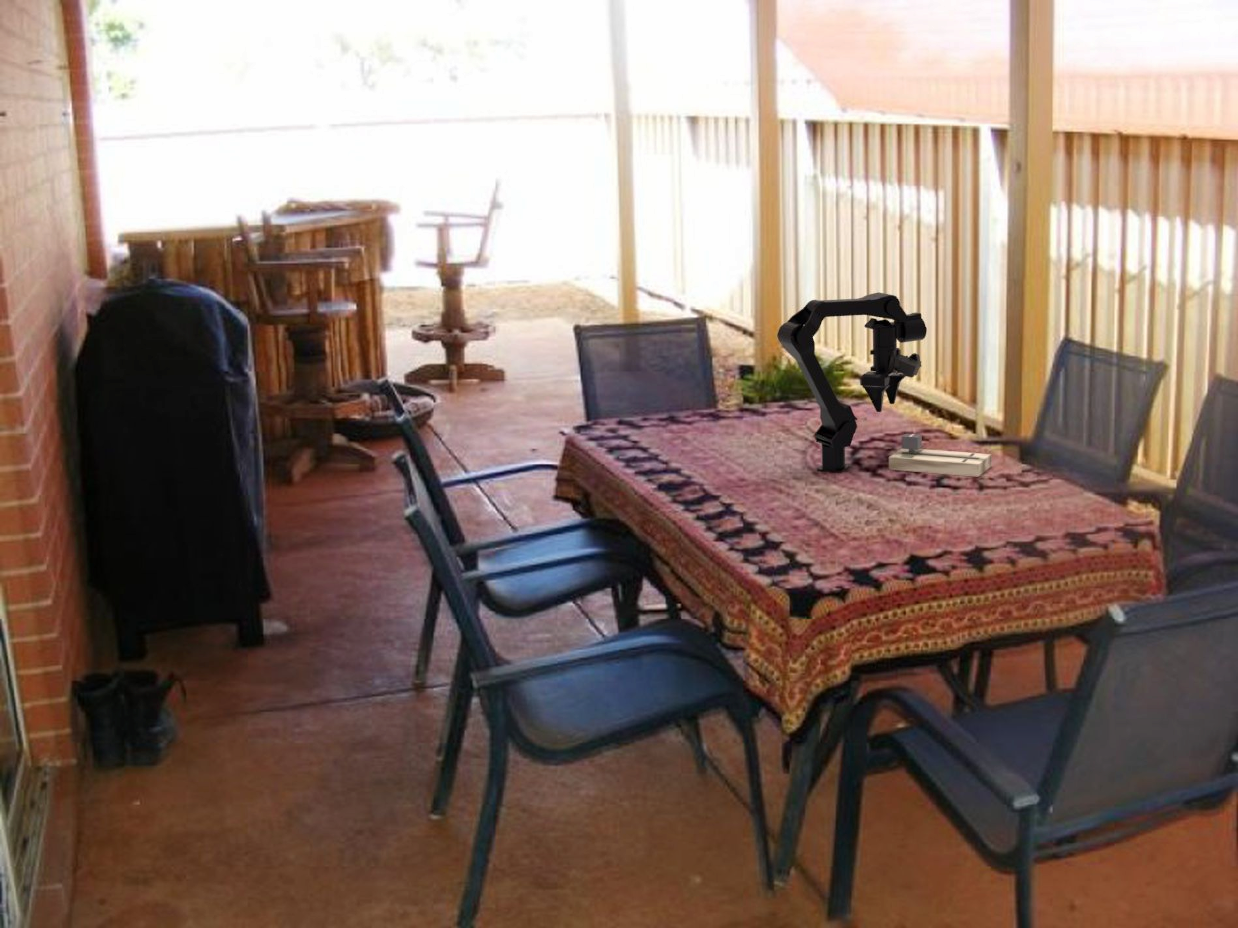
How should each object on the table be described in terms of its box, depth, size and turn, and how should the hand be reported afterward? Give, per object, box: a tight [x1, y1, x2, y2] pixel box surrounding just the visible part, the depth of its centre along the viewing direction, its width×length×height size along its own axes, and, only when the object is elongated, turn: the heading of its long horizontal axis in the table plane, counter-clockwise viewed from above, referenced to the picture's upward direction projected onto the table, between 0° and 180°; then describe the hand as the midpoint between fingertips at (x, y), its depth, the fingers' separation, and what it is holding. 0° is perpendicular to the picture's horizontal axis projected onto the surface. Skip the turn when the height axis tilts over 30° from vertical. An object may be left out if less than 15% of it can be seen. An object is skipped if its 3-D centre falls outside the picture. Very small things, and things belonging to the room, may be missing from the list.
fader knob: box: [901, 433, 923, 453], centre depth 365 cm, size 3×4×4 cm
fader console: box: [888, 448, 992, 478], centre depth 363 cm, size 10×22×3 cm, turn 60°
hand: (885, 407), depth 370 cm, fingers open, 9 cm apart
